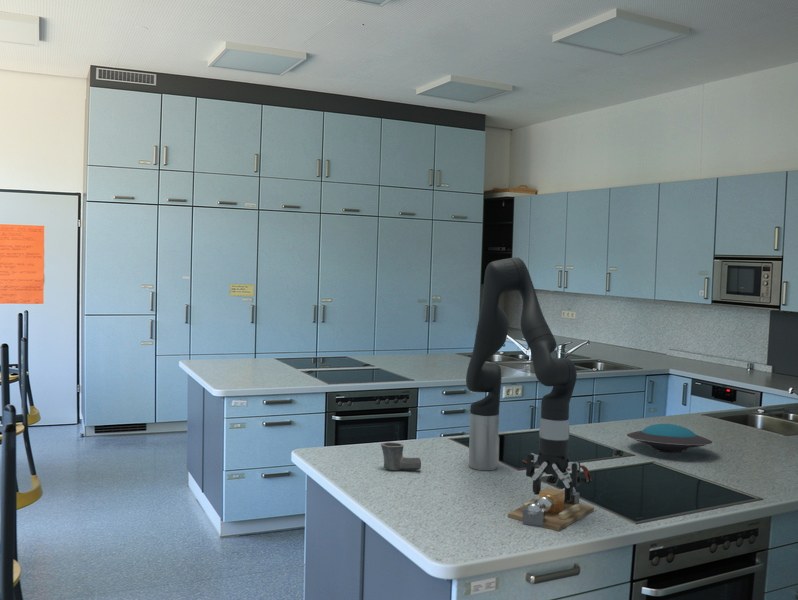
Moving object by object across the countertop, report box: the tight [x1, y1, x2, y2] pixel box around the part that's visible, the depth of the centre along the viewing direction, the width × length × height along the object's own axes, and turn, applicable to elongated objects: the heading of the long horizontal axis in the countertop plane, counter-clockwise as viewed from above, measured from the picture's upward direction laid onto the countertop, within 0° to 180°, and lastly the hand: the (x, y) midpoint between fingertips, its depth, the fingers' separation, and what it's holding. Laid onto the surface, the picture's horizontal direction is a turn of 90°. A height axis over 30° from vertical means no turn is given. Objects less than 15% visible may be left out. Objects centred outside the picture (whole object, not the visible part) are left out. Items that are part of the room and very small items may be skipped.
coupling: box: [537, 486, 565, 514], centre depth 177 cm, size 10×4×5 cm, turn 141°
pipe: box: [380, 441, 422, 471], centre depth 214 cm, size 6×13×8 cm, turn 79°
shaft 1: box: [522, 501, 545, 528], centre depth 170 cm, size 4×5×5 cm
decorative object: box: [624, 423, 714, 454], centre depth 245 cm, size 29×29×10 cm
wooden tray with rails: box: [507, 496, 595, 532], centre depth 177 cm, size 20×14×2 cm
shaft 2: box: [562, 487, 581, 505], centre depth 184 cm, size 4×5×5 cm
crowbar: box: [522, 459, 592, 483], centre depth 216 cm, size 26×2×5 cm, turn 39°
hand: (552, 497), depth 177 cm, fingers open, 8 cm apart
